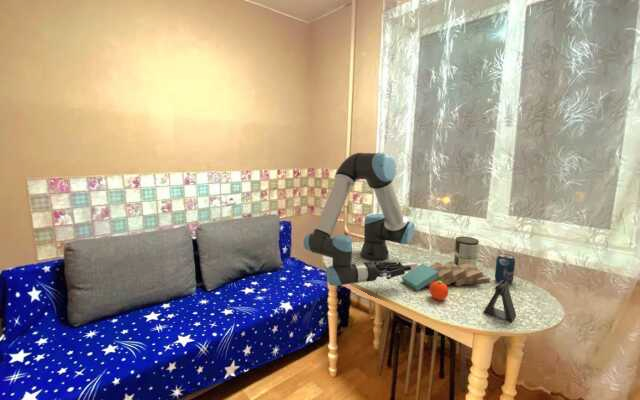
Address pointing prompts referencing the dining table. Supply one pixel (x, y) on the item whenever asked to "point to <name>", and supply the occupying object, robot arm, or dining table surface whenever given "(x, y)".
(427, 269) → the teal domino
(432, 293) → the clementine
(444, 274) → the walnut domino
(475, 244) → the coffee can
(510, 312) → the phone stand
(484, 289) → the dining table surface
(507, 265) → the soda can
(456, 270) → the walnut domino
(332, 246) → the robot arm
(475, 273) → the walnut domino
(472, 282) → the walnut domino
